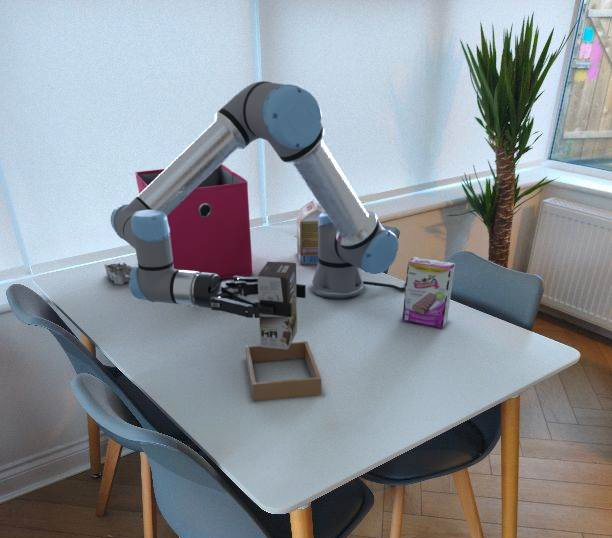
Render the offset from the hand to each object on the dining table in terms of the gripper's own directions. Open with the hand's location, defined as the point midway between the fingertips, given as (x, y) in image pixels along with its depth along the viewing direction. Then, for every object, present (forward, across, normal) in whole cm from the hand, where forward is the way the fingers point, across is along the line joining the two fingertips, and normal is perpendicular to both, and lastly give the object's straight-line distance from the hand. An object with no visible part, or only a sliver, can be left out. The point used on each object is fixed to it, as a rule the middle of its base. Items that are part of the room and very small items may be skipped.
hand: (298, 300), depth 126 cm
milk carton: (-18, -76, -19) cm, 80 cm away
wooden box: (-4, +1, -19) cm, 19 cm away
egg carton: (-70, -43, -19) cm, 84 cm away
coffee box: (-4, 0, -10) cm, 11 cm away
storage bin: (-51, -58, -19) cm, 79 cm away
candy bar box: (+24, -37, -19) cm, 48 cm away
